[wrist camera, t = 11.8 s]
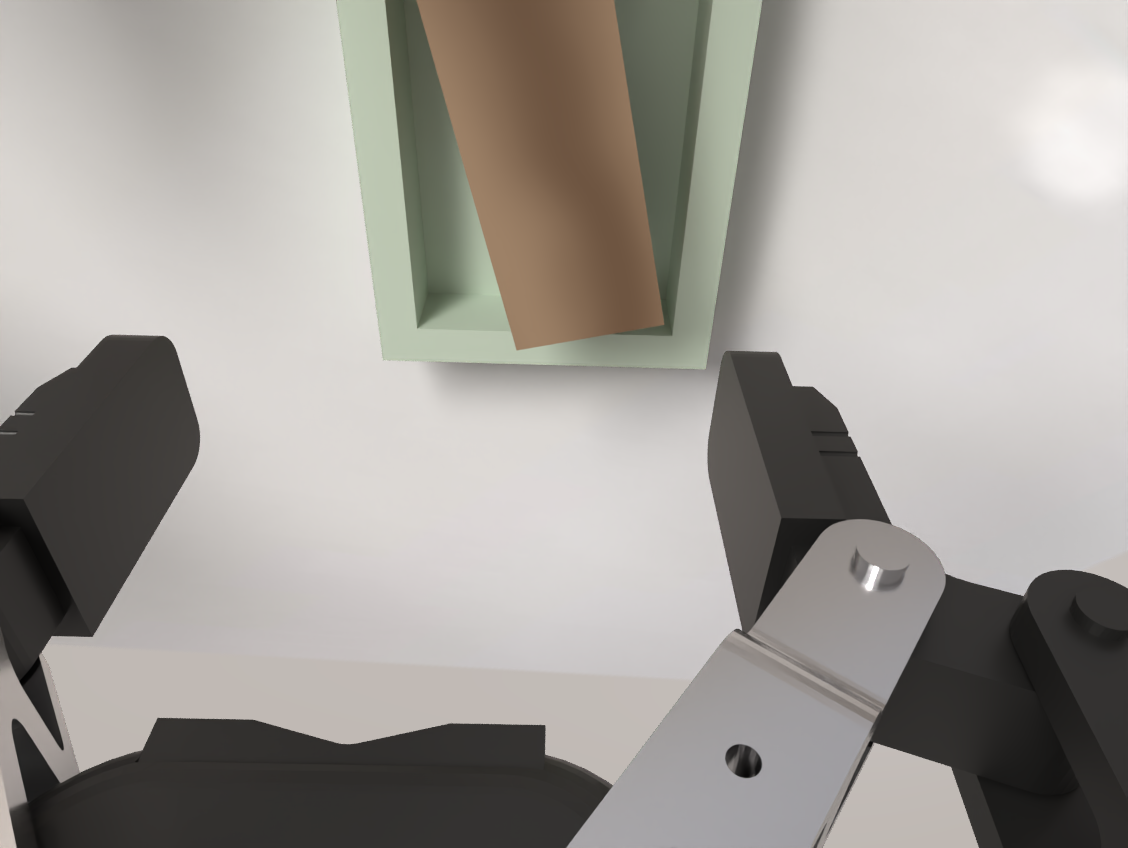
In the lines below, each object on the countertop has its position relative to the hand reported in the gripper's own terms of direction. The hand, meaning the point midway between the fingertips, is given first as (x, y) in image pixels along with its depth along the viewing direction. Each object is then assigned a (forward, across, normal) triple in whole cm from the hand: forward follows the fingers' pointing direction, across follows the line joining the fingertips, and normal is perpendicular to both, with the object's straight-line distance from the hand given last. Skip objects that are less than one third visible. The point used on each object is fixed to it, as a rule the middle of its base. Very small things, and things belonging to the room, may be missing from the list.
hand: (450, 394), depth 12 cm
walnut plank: (+18, -1, -1) cm, 18 cm away
